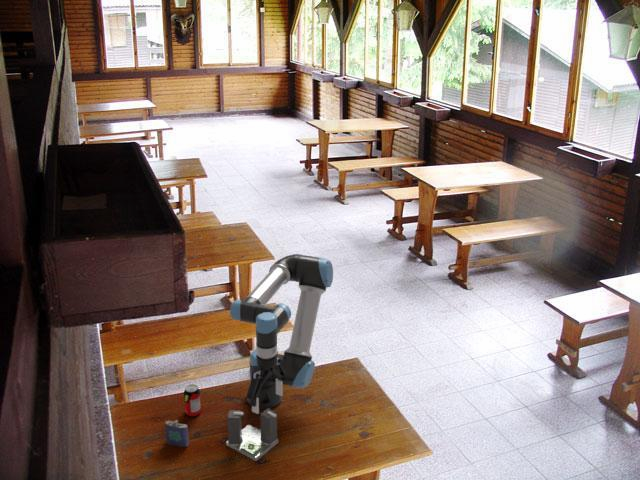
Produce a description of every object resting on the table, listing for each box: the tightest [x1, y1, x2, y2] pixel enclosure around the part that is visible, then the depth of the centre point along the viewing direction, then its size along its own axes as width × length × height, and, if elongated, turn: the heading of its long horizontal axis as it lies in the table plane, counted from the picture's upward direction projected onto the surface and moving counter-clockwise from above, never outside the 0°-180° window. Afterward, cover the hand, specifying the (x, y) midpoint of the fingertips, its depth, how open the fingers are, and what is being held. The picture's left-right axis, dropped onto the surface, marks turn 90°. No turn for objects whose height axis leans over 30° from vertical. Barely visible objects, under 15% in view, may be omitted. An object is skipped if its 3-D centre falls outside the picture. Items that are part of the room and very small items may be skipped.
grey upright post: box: [227, 409, 245, 444], centre depth 242 cm, size 6×4×13 cm
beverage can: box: [183, 384, 202, 417], centre depth 260 cm, size 6×6×12 cm
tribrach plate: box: [225, 424, 279, 462], centre depth 244 cm, size 16×14×3 cm
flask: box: [164, 419, 190, 448], centre depth 242 cm, size 9×3×11 cm, turn 74°
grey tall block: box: [259, 408, 278, 445], centre depth 242 cm, size 6×4×13 cm
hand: (267, 403), depth 238 cm, fingers open, 13 cm apart
